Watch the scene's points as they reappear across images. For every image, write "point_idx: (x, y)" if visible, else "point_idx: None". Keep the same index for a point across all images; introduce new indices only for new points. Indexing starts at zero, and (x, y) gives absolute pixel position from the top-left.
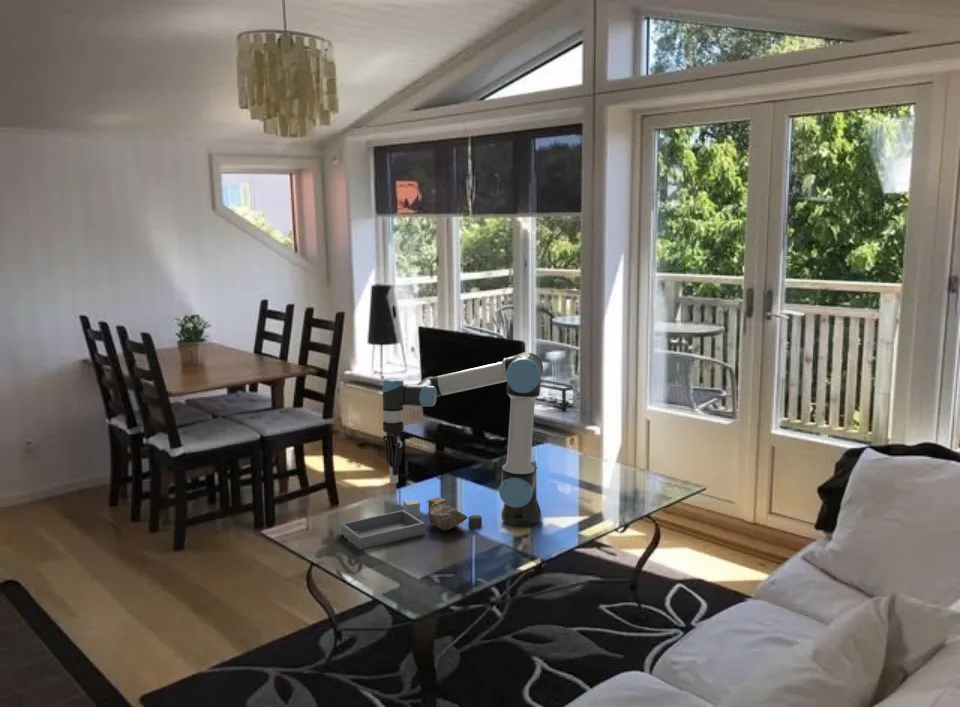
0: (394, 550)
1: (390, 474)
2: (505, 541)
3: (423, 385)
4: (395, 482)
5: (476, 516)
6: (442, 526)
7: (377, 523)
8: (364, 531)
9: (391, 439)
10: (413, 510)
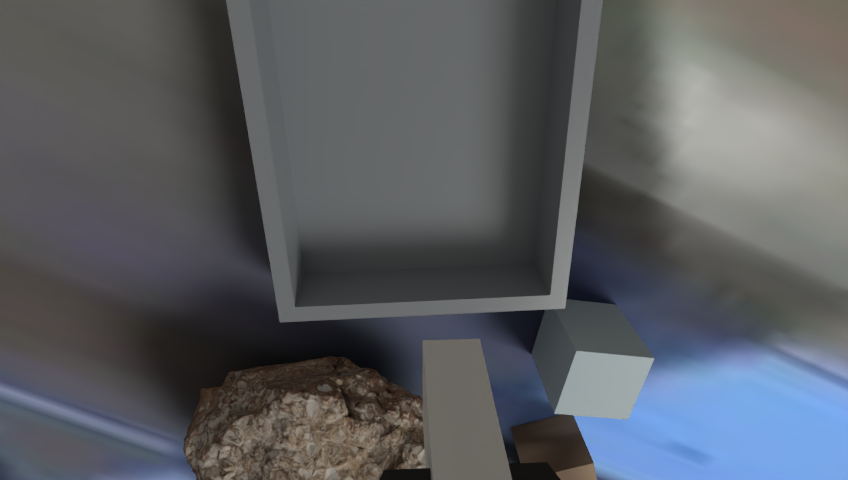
0: (125, 24)
1: (469, 441)
2: None
3: None
4: (423, 393)
5: None
6: (224, 380)
7: (554, 104)
8: None
9: None
10: (553, 354)
